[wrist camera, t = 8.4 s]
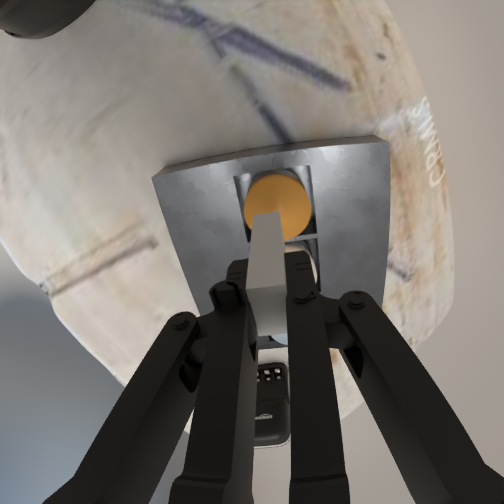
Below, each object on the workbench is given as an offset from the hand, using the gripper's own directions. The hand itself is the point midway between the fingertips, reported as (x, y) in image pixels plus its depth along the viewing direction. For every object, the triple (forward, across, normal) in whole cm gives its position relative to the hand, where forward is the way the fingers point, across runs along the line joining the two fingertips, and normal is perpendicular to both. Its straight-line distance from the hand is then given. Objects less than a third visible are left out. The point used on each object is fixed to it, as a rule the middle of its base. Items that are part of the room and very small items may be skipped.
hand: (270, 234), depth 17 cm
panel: (+8, 0, -6) cm, 10 cm away
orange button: (+6, 0, 0) cm, 6 cm away
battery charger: (+8, -5, -24) cm, 26 cm away
